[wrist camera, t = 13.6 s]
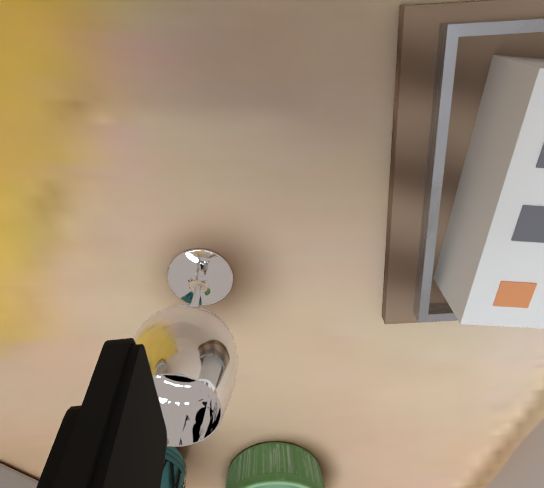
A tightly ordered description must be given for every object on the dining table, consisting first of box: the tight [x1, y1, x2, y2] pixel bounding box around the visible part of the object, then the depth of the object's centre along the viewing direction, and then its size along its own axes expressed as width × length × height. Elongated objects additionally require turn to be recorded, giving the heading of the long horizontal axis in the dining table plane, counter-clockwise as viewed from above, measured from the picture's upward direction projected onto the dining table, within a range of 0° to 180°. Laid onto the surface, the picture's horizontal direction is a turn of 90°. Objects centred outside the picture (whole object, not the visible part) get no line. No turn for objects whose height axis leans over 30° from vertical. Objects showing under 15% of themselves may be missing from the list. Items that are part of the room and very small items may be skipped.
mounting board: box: [382, 0, 544, 324], centre depth 30 cm, size 20×13×2 cm, turn 3°
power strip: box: [433, 55, 544, 328], centre depth 28 cm, size 14×5×5 cm, turn 175°
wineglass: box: [133, 249, 238, 447], centre depth 28 cm, size 6×6×12 cm
